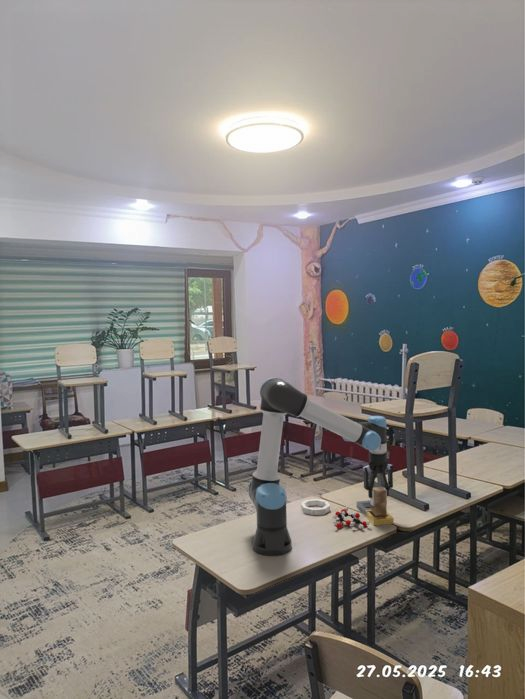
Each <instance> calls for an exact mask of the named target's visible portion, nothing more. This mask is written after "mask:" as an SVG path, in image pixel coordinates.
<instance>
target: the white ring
mask: <svg viewBox="0 0 525 699" xmlns="http://www.w3.org/2000/svg"><path fill="white" fill-rule="evenodd" d="M315 506H318V508H316V507H315ZM313 507H315V508H313ZM300 510H301V511H302V513H303V514H306V515H311V516H321V515H326V514H327V513H329V512H330V511H331V504H330V503H329V502H328V501H327V500H323V499H320V498H313V499H306V500H304V501H302V502H301V503H300Z"/></svg>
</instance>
